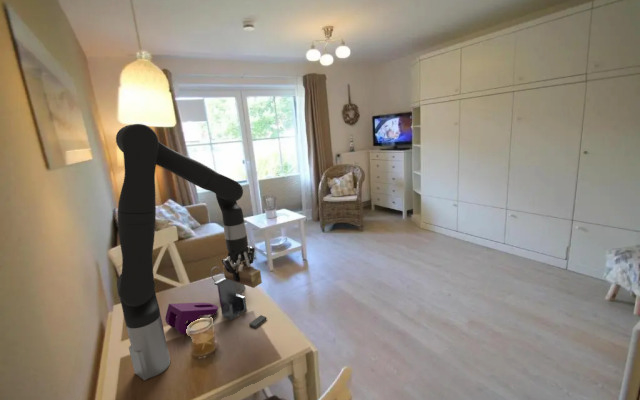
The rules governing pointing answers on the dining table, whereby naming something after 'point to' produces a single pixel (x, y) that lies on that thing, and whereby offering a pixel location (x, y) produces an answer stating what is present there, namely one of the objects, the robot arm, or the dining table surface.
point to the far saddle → (258, 321)
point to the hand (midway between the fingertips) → (242, 278)
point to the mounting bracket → (187, 314)
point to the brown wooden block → (246, 276)
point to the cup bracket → (230, 299)
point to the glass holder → (238, 286)
